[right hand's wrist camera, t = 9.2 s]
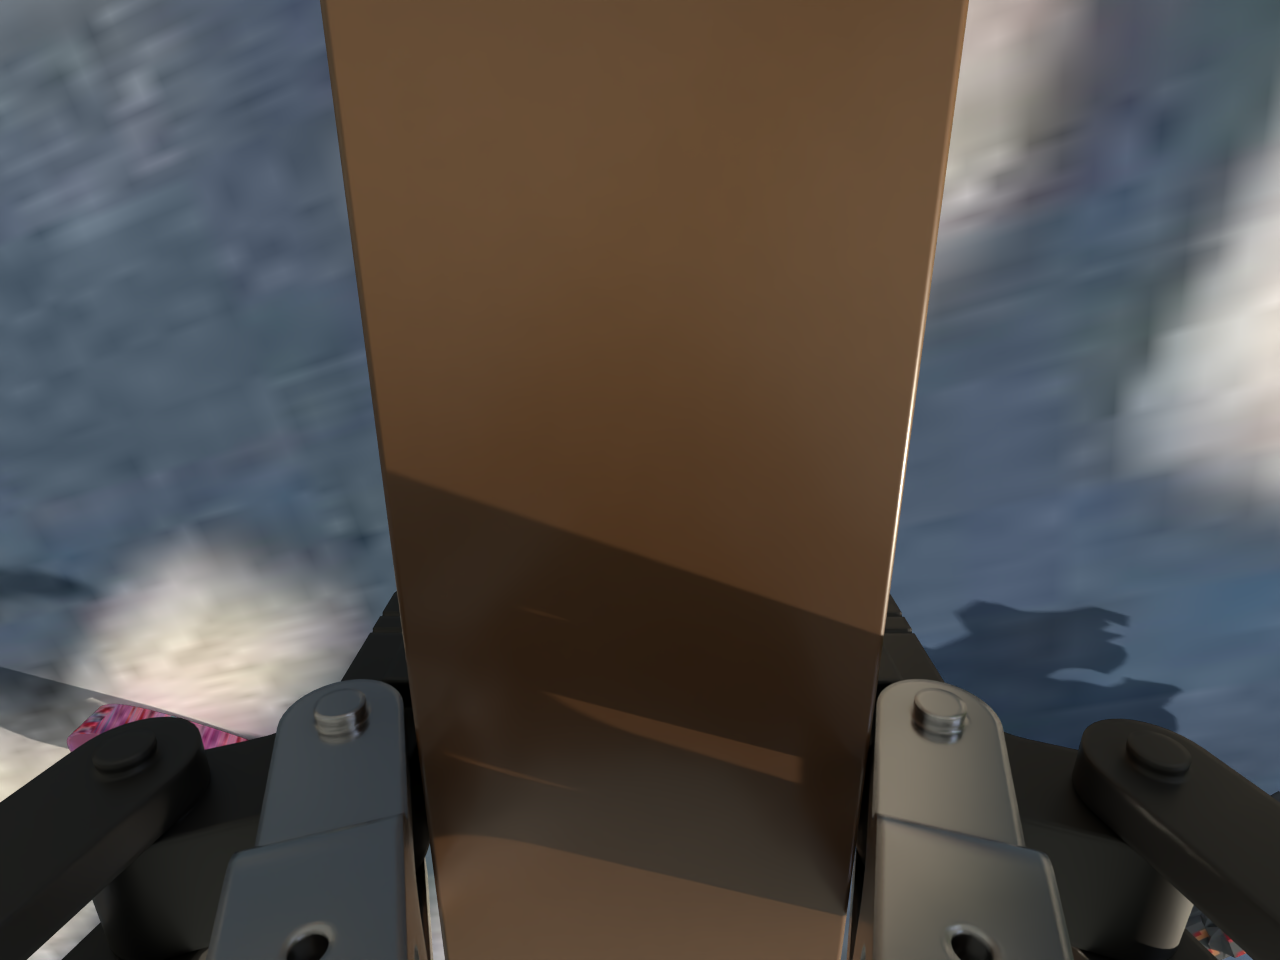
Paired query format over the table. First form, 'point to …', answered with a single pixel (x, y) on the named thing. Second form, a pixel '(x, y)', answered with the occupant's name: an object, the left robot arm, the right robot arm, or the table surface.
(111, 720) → the headband
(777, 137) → the post
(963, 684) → the table surface
